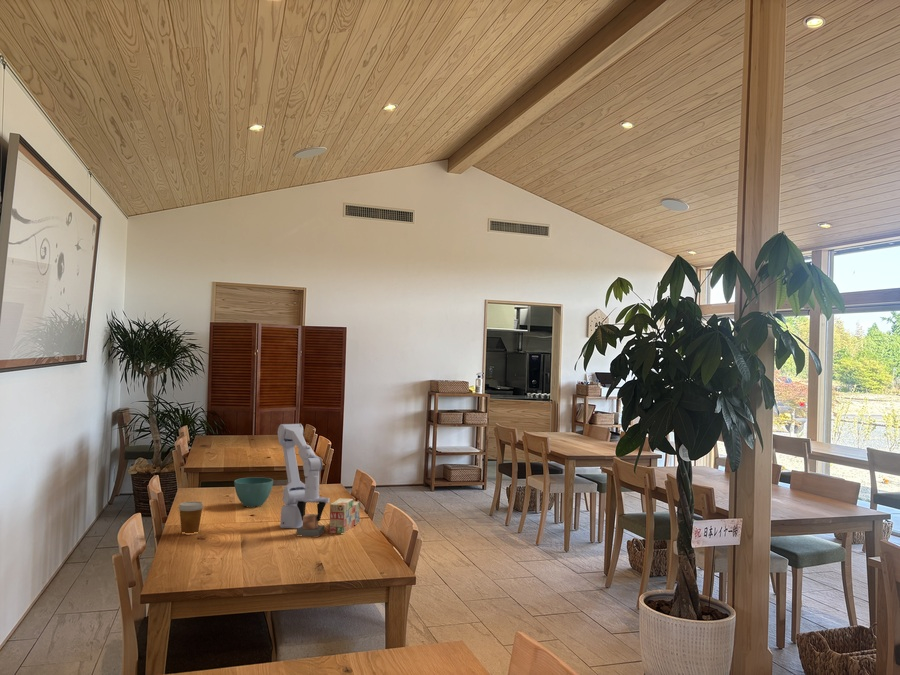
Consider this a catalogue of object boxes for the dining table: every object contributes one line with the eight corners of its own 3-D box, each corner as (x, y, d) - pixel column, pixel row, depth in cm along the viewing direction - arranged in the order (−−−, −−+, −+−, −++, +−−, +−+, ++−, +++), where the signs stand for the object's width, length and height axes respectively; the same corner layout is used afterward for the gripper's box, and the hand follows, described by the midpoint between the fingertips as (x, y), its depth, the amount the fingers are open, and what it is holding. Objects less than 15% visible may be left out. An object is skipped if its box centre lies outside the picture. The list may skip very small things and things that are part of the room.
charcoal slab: (296, 537, 270) (296, 529, 270) (303, 531, 279) (303, 524, 279) (318, 538, 269) (318, 530, 270) (324, 532, 278) (324, 525, 278)
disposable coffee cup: (207, 532, 273) (208, 502, 274) (189, 537, 265) (190, 506, 265) (190, 529, 277) (191, 500, 278) (172, 534, 269) (173, 504, 269)
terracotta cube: (302, 528, 272) (303, 516, 272) (306, 525, 277) (306, 513, 277) (314, 529, 272) (314, 517, 272) (318, 526, 276) (318, 514, 277)
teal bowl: (280, 504, 329) (280, 479, 330) (251, 511, 314) (252, 484, 314) (254, 500, 339) (255, 476, 340) (225, 506, 324) (226, 480, 324)
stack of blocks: (346, 522, 296) (346, 494, 297) (359, 522, 295) (360, 494, 296) (329, 533, 275) (329, 503, 276) (343, 534, 274) (344, 504, 275)
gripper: (291, 488, 272) (290, 521, 271) (326, 489, 271) (325, 523, 270) (297, 485, 279) (296, 517, 278) (331, 486, 278) (330, 519, 277)
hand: (311, 520), depth 275 cm, fingers open, 6 cm apart
